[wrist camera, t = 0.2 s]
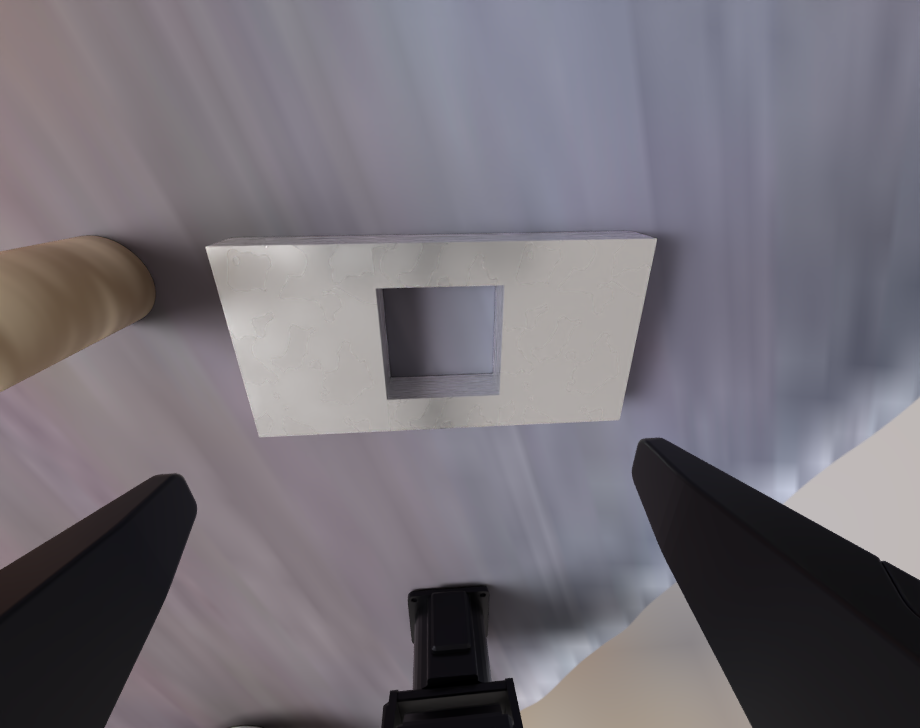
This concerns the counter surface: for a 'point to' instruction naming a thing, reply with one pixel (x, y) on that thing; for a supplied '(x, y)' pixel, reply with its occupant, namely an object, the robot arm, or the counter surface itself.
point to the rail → (431, 265)
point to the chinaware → (245, 727)
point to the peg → (66, 301)
